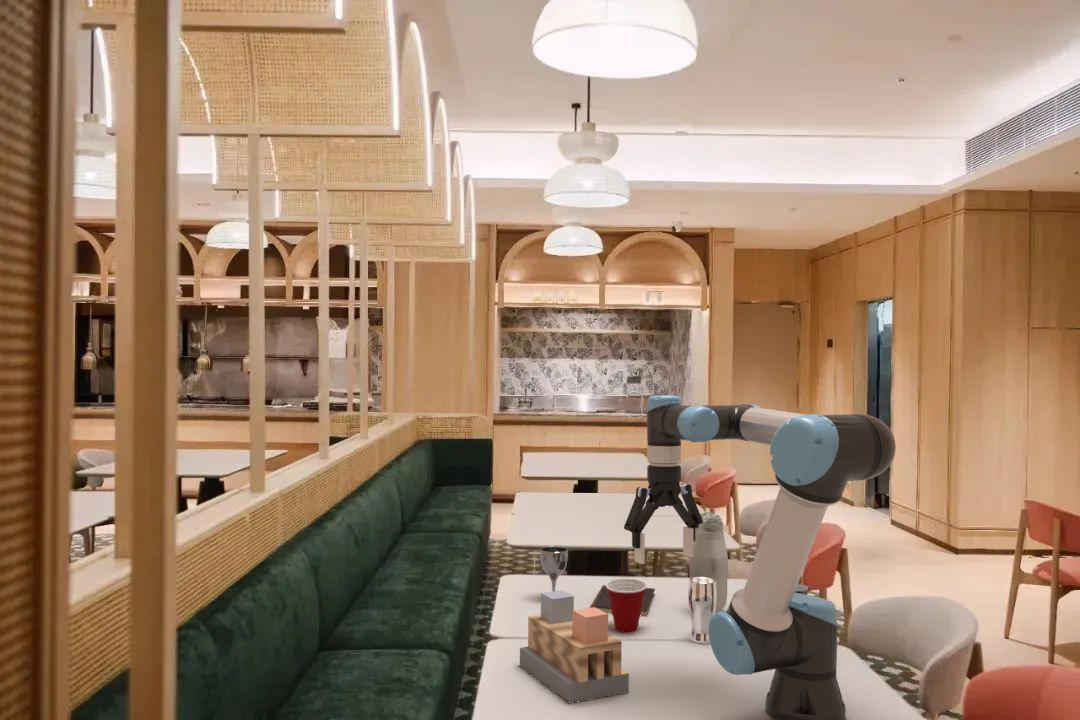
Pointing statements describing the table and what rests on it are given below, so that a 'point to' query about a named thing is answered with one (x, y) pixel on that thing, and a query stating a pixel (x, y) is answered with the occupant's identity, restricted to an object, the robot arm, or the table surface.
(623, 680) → the block
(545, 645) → the pallet
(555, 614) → the grey block
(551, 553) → the wine glass
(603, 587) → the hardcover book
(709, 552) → the grey bottle
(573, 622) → the salmon pink cube
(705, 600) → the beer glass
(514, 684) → the table surface
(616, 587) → the plastic cup
